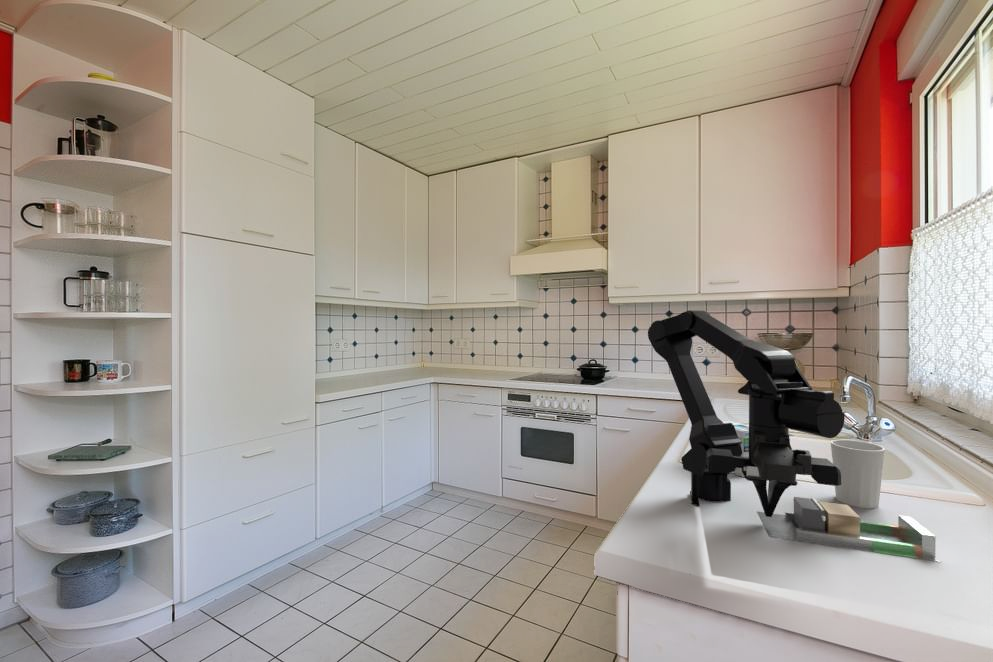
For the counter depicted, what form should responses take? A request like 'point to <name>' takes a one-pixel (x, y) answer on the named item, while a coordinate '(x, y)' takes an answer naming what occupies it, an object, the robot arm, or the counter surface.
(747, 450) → the light bulb box
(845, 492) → the cup
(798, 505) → the plunger
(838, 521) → the block
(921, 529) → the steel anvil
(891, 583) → the counter surface
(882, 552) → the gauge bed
